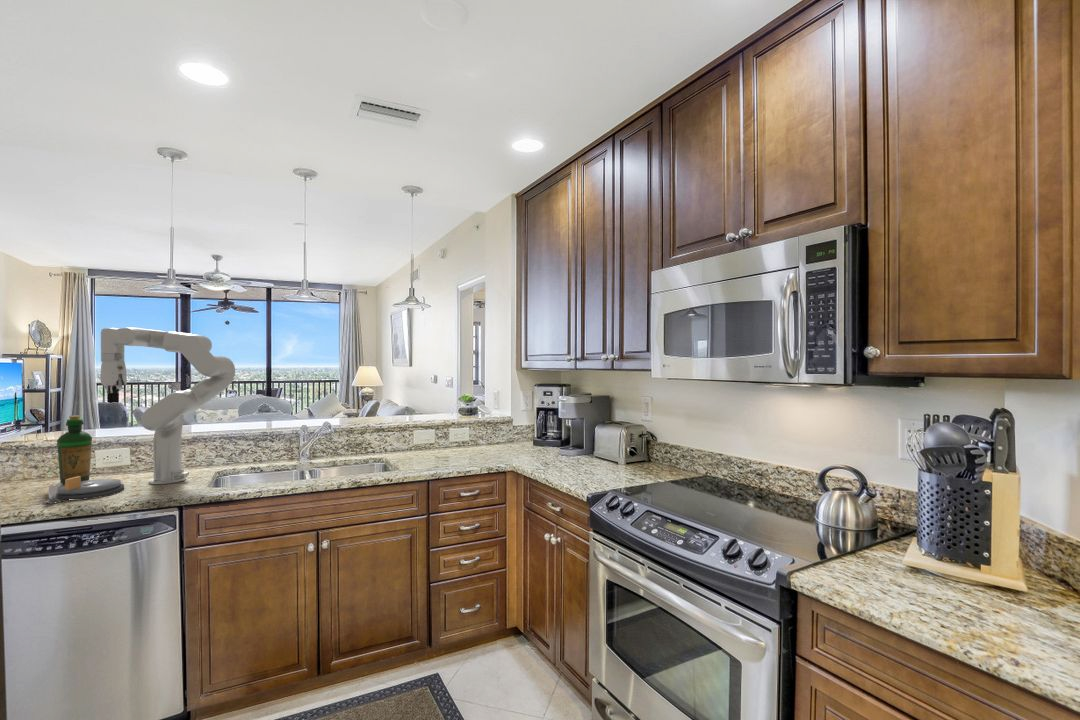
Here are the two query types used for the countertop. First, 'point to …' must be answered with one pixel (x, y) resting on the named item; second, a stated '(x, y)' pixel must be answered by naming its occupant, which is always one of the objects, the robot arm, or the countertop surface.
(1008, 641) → the countertop surface
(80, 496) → the turntable base
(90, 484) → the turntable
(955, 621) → the countertop surface
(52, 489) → the capsule on square base
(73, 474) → the bottle
